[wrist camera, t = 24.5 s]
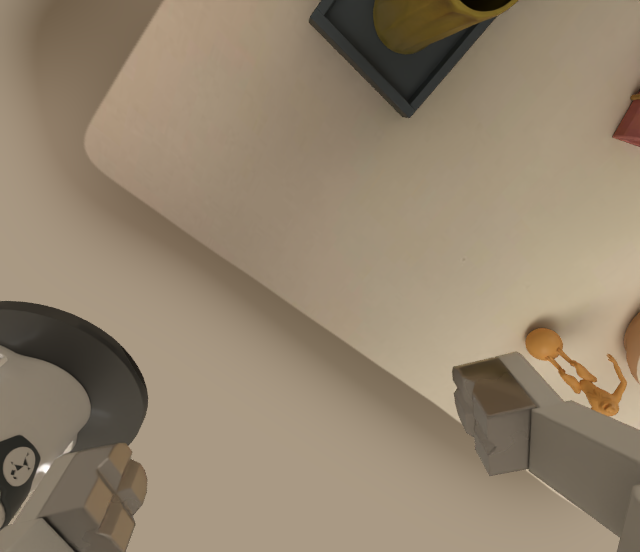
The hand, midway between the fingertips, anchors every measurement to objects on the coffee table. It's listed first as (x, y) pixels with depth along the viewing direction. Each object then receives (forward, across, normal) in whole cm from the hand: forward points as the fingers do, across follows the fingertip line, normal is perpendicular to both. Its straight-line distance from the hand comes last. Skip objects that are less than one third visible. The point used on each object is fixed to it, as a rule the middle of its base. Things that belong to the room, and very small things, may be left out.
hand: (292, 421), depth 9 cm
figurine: (+31, -26, +28) cm, 49 cm away
